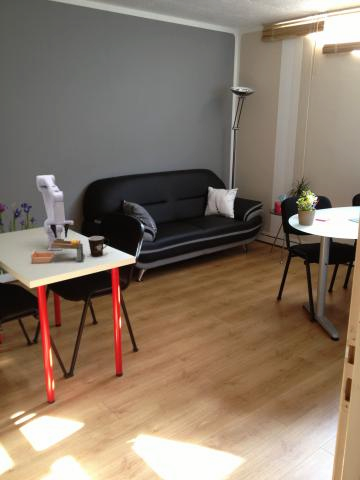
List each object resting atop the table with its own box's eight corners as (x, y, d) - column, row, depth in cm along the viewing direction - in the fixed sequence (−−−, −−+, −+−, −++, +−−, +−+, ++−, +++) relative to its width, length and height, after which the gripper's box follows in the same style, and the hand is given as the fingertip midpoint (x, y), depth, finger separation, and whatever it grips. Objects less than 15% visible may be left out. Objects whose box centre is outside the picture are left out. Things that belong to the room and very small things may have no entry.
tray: (35, 257, 243) (34, 249, 241) (54, 257, 244) (53, 248, 242) (31, 263, 233) (30, 254, 232) (51, 263, 234) (50, 254, 233)
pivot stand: (77, 256, 246) (77, 243, 244) (85, 255, 246) (84, 243, 244) (75, 262, 235) (74, 249, 233) (83, 262, 235) (82, 249, 233)
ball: (70, 244, 240) (71, 237, 239) (78, 245, 240) (79, 238, 239) (69, 246, 236) (70, 239, 235) (77, 247, 237) (78, 240, 235)
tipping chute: (55, 241, 247) (55, 235, 247) (82, 242, 249) (83, 236, 248) (51, 248, 233) (51, 242, 232) (80, 250, 235) (80, 243, 234)
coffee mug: (89, 258, 242) (88, 240, 239) (89, 253, 250) (88, 236, 248) (110, 256, 244) (109, 239, 242) (109, 252, 252) (108, 235, 250)
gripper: (44, 215, 236) (46, 239, 240) (71, 214, 238) (73, 238, 241) (46, 212, 243) (48, 236, 247) (73, 212, 244) (74, 235, 248)
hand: (61, 237), depth 244 cm, fingers open, 5 cm apart
